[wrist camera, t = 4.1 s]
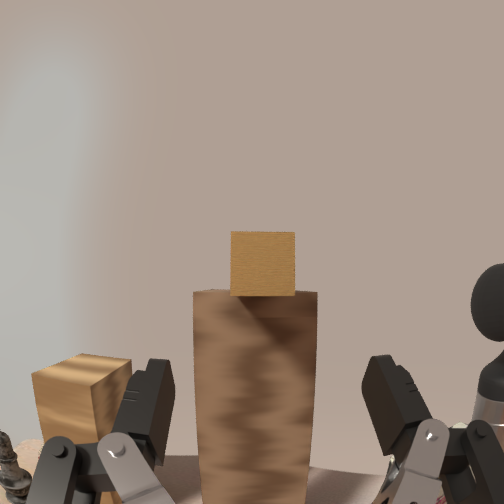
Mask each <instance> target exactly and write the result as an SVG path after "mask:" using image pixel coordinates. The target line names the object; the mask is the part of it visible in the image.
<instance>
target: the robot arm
mask: <svg viewBox="0 0 504 504" xmlns="http://www.w3.org/2000/svg"><path fill="white" fill-rule="evenodd" d="M471 313H472V317H473V320H474V323H475V325H476V327H477V328H478V330H479V331H480V332H481V333H482V334H483V335H484V336H485V337H486V338H488V339H490V340H493V341H498V342H501V341H504V263H503V264H497V265H494V266H492V267H490V268H488V269H487V270H486V271H485V272H484V273H483V274H482V275H481V276H480V278H479V279H478V281H477V283H476V285H475V287H474V289H473V293H472V298H471ZM362 394H363V397H364V400H365V403H366V406H367V408H368V411H369V414H370V417H371V420H372V423H373V425H374V428H375V431H376V434H377V437H378V440H379V443H380V446H381V449H382V452H383V455H384V456H387V455H390V454H393V455H394V458H395V459H394V461H393V463H392V465H391V467H390V469H389V472H388V474H387V476H386V478H385V480H384V482H383V485H382V487H381V489H380V491H379V493H378V495H377V496H376V498H375V500H374V501H373V502H372V504H436V501H437V498H438V495H439V492H440V489H441V486H442V489H443V492H444V495H445V499H446V502H447V504H504V350H503V352H502V353H501V354H500V355H499V356H498V357H497V358H496V359H494V361H492V362H491V363H489V364H488V365H487V366H485V368H483V370H482V372H481V374H480V378H479V384H478V390H477V396H476V401H475V406H474V412H473V417H472V421H471V422H470V424H469V425H468V426H467V427H466V428H448V427H447V426H446V425H445V424H444V423H443V422H441V421H440V420H437V419H433V418H432V416H431V414H430V412H429V410H428V408H427V406H426V404H425V402H424V400H423V398H422V396H421V394H420V392H419V391H418V388H417V387H416V385H415V384H414V381H413V379H412V377H411V375H410V373H409V372H408V371H407V370H405V369H404V368H403V367H402V366H401V365H398V366H396V365H395V363H394V361H393V359H392V357H391V356H390V355H380V356H372V357H371V359H370V361H369V364H368V367H367V369H366V372H365V375H364V378H363V381H362ZM174 400H175V384H174V379H173V375H172V370H171V365H170V361H169V360H165V359H149V362H148V365H147V368H146V371H141V370H137V371H136V372H135V373H134V374H133V375H132V376H131V377H130V378H129V381H128V383H127V386H126V391H125V392H124V395H123V400H122V401H121V404H120V407H119V410H118V413H117V416H116V419H115V422H114V425H113V428H112V431H111V432H110V434H107V435H106V436H104V437H103V438H102V439H101V440H100V441H99V442H96V443H86V444H74V443H73V442H72V441H71V440H70V439H69V438H67V437H64V436H55V437H52V438H50V439H49V440H47V442H46V443H45V444H44V446H43V449H42V451H41V454H40V457H39V460H38V463H37V467H36V470H35V473H34V476H33V479H32V483H31V486H30V490H29V493H28V497H27V500H26V504H100V501H101V495H102V492H111V491H117V492H118V494H119V496H120V498H121V500H122V504H176V503H175V502H174V501H173V499H172V498H171V497H170V495H169V494H168V492H167V491H166V490H165V488H164V487H163V486H162V485H161V483H160V482H159V480H158V479H157V477H156V476H155V474H154V473H153V471H154V465H160V466H163V462H164V456H165V450H166V444H167V438H168V433H169V427H170V422H171V416H172V411H173V406H174ZM469 465H470V466H469ZM470 467H471V469H472V471H471V469H470ZM472 472H473V474H474V476H473V474H472ZM474 477H475V479H474Z"/></svg>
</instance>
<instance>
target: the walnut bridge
mask: <svg viewBox="0 0 504 504" xmlns="http://www.w3.org/2000/svg"><path fill="white" fill-rule="evenodd" d="M193 341H194V382H195V405H196V424H197V439H198V440H197V441H198V455H199V468H200V480H201V491H202V501H203V504H305V499H306V490H307V481H308V472H309V462H310V451H311V439H312V427H313V411H314V396H315V376H316V374H315V373H316V349H317V292H308V291H296V290H295V296H230V290H214V289H211V290H204V291H196V292H193Z"/></svg>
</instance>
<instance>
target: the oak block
mask: <svg viewBox="0 0 504 504" xmlns="http://www.w3.org/2000/svg"><path fill="white" fill-rule="evenodd" d="M31 375H32V382H33V389H34V394H35V401H36V406H37V411H38V416H39V421H40V426H41V430H42V434H43V439H44V442H45V443H46V442H47V440H49V439H50V438H52V437H55V436H64V437H67V438H69V439H70V440H71V441H72V442H73V443H74V444H86V443H96V442H99V441H100V440H101V439H102V438H103V437H104V436H106V435H107V434H110V432H111V431H112V428H113V425H114V422H115V419H116V416H117V413H118V410H119V407H120V404H121V401H122V400H123V395H124V392H125V391H126V386H127V383H128V381H129V378H130V377H131V376H132V363H131V359H121V358H113V357H104V356H96V355H90V354H80V355H77V356H75V357H72V358H70V359H67V360H65V361H62V362H60V363H57V364H55V365H52V366H49V367H47V368H44V369H42V370H39V371H37V372H34V373H32V374H31ZM100 504H122V500H121V498H120V496H119V494H118V492H117V491H111V492H102V495H101V501H100Z"/></svg>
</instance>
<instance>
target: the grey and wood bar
mask: <svg viewBox="0 0 504 504" xmlns="http://www.w3.org/2000/svg"><path fill="white" fill-rule="evenodd" d="M230 296H295V233H294V232H231V285H230Z"/></svg>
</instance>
